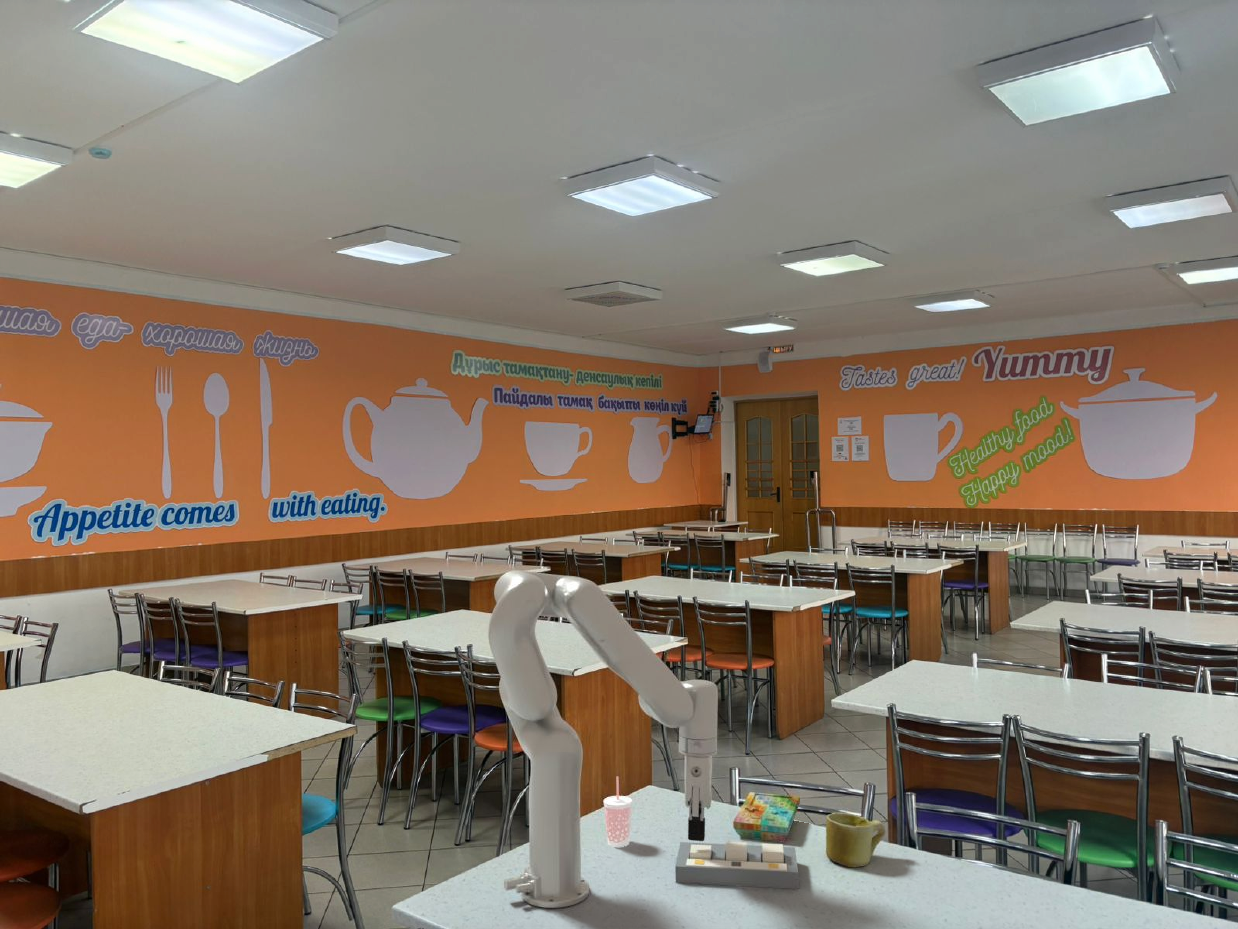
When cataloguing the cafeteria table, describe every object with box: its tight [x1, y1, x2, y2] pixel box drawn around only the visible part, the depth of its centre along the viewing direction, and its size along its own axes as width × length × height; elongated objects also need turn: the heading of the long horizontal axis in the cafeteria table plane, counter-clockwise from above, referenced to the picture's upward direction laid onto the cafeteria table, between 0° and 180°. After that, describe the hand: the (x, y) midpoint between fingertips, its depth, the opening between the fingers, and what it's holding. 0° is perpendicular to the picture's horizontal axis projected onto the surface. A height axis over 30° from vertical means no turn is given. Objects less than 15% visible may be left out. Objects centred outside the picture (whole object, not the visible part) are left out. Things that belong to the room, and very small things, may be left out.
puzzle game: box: [732, 791, 801, 843], centre depth 195 cm, size 12×5×20 cm
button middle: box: [725, 841, 748, 862], centre depth 170 cm, size 4×4×3 cm
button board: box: [674, 841, 799, 890], centre depth 170 cm, size 12×23×3 cm, turn 81°
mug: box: [825, 812, 886, 868], centre depth 175 cm, size 12×10×10 cm
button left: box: [690, 845, 712, 860], centre depth 171 cm, size 4×4×3 cm
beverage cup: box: [603, 775, 633, 848], centre depth 185 cm, size 6×6×14 cm
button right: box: [761, 843, 784, 863], centre depth 169 cm, size 4×4×3 cm
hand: (696, 839), depth 171 cm, fingers closed
